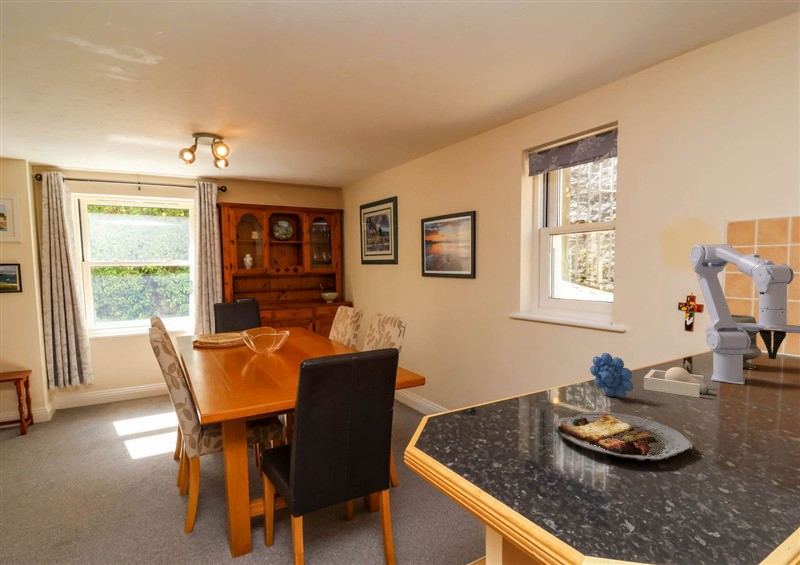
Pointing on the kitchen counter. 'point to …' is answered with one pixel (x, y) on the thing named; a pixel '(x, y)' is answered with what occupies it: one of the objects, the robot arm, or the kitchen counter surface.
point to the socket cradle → (671, 384)
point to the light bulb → (684, 378)
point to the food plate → (607, 425)
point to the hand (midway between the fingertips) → (772, 358)
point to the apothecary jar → (753, 349)
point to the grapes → (611, 375)
